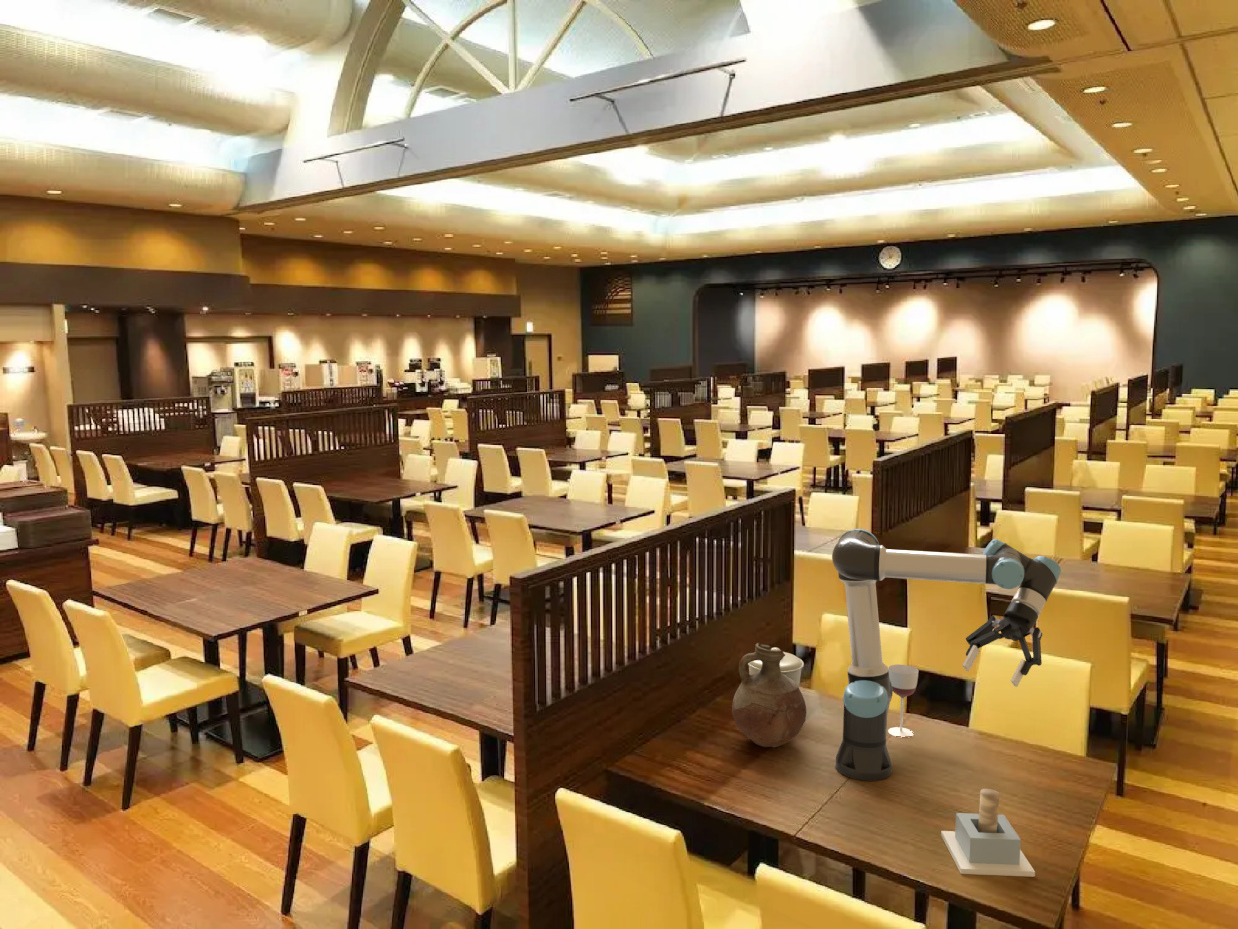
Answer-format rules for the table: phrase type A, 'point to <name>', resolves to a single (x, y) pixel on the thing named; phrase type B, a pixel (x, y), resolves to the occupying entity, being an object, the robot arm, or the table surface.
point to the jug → (768, 701)
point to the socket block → (986, 848)
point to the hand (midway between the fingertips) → (989, 676)
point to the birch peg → (988, 811)
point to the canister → (782, 666)
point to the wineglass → (902, 691)
